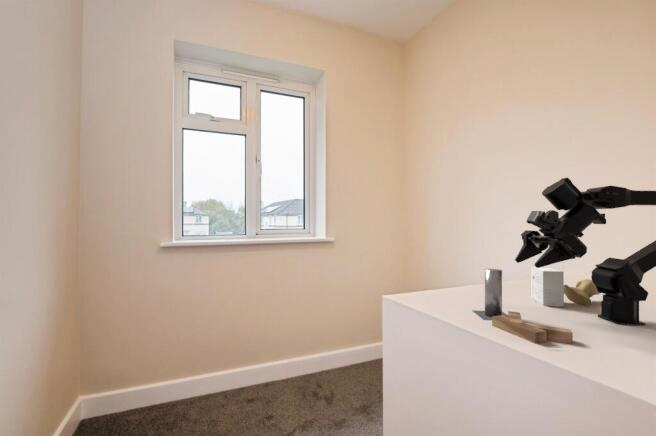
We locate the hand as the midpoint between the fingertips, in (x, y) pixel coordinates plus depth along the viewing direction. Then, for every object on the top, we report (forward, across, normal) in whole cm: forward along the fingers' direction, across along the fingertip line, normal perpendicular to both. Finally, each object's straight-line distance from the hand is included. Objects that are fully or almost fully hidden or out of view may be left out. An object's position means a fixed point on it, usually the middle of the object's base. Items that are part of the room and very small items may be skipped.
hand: (525, 263), depth 80 cm
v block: (+14, +12, +7) cm, 19 cm away
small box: (-1, -16, +20) cm, 26 cm away
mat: (+16, 0, +5) cm, 16 cm away
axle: (+15, 0, +5) cm, 16 cm away
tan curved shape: (-10, -18, +29) cm, 35 cm away
